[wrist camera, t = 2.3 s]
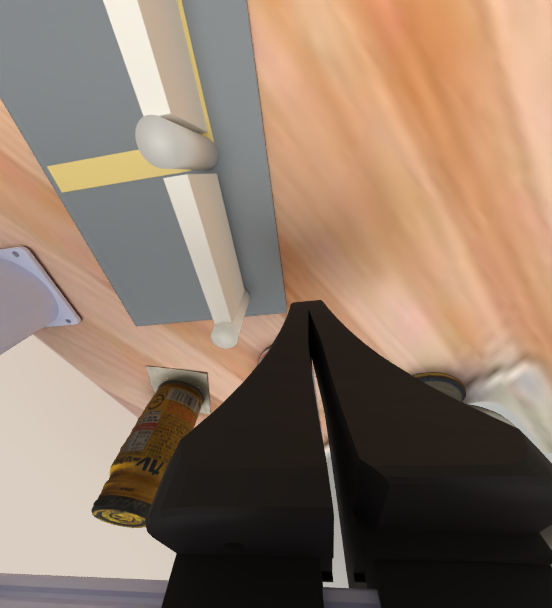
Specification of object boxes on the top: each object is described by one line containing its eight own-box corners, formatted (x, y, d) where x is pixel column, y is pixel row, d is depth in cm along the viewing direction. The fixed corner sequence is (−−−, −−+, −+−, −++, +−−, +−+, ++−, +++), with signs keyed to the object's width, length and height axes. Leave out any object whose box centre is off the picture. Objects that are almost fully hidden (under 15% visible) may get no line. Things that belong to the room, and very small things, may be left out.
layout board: (138, 324, 22) (135, 326, 22) (-116, -113, 10) (-135, -126, 9) (287, 310, 21) (287, 313, 20) (215, -237, 8) (211, -259, 8)
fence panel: (195, 177, 14) (150, 179, 10) (221, 172, 14) (188, 173, 9) (232, 306, 20) (214, 349, 15) (251, 304, 19) (240, 347, 15)
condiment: (158, 407, 30) (93, 528, 20) (146, 365, 26) (54, 493, 15) (211, 412, 30) (172, 535, 20) (207, 371, 26) (156, 502, 16)
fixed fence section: (221, 167, 14) (185, 165, 9) (195, 171, 15) (147, 171, 9) (140, -191, 8) (-94, -775, 3) (98, -176, 8) (-185, -699, 3)
